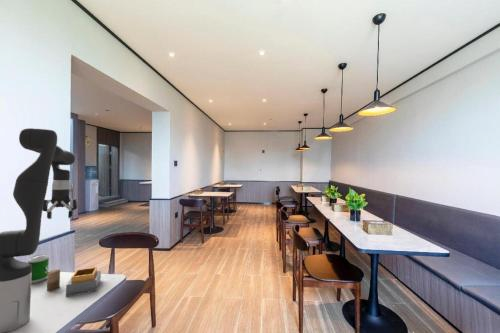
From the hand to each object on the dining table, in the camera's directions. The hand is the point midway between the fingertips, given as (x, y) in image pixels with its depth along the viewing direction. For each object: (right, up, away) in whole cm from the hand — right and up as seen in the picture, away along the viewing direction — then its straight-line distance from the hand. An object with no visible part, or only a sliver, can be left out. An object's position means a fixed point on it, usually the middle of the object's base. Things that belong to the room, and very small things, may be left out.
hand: (60, 218), depth 120 cm
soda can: (-3, -29, -10) cm, 31 cm away
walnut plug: (+12, -29, -17) cm, 36 cm away
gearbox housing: (+26, -29, -16) cm, 42 cm away
